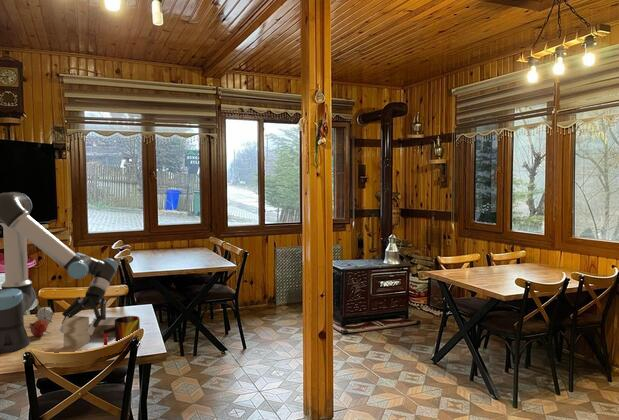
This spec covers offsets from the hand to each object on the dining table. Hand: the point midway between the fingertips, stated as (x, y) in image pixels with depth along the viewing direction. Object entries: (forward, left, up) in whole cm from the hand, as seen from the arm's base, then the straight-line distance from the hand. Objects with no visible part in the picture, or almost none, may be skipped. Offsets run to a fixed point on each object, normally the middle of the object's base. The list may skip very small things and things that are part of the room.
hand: (75, 332), depth 196 cm
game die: (-37, +24, -5) cm, 45 cm away
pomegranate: (-24, +7, -6) cm, 26 cm away
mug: (+23, 0, -5) cm, 24 cm away
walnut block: (+4, +16, -6) cm, 18 cm away
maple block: (0, +1, -5) cm, 5 cm away
